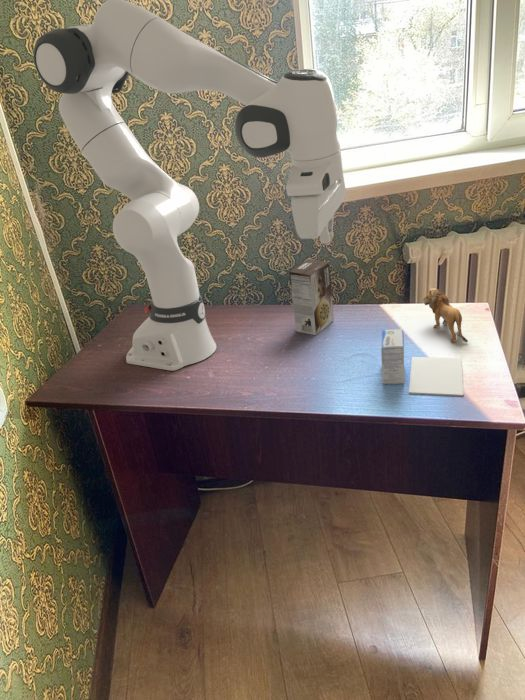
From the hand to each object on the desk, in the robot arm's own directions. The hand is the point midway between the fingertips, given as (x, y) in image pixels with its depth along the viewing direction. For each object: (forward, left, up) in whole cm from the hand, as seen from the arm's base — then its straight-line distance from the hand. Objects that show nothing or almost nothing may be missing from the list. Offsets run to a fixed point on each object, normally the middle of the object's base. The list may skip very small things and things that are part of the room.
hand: (327, 240), depth 104 cm
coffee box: (-9, +20, -29) cm, 36 cm away
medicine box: (+12, -2, -29) cm, 31 cm away
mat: (+21, -2, -29) cm, 35 cm away
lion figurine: (+23, +18, -29) cm, 41 cm away
